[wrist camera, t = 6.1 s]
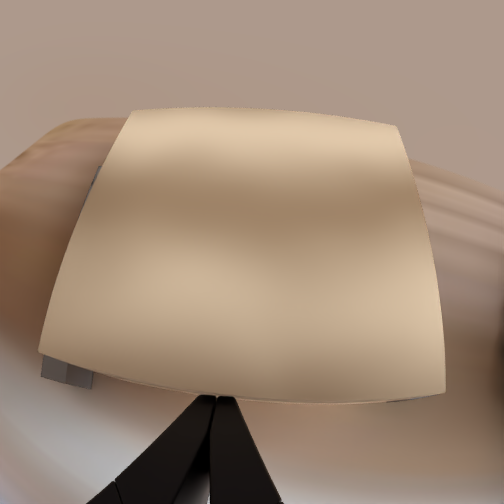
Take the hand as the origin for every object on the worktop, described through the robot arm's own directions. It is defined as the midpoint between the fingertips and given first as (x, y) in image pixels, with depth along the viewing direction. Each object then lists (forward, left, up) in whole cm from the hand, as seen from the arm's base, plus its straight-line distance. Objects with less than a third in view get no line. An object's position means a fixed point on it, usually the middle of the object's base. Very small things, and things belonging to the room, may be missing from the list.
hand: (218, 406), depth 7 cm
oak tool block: (+5, -1, -7) cm, 9 cm away
